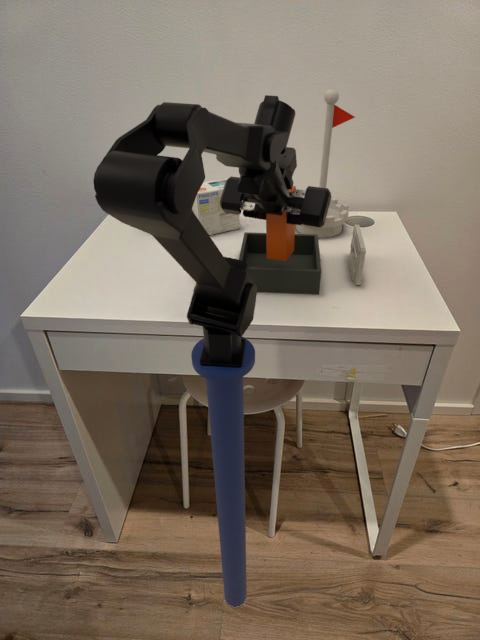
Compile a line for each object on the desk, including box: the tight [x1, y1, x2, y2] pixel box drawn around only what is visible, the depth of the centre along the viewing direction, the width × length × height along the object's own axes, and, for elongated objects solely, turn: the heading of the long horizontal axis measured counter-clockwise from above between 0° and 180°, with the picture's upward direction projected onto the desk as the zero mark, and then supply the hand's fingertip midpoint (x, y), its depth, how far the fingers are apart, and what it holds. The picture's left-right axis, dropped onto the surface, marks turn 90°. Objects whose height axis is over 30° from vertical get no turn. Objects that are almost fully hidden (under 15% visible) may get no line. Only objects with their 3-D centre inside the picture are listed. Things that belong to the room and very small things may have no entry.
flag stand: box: [295, 88, 356, 239], centre depth 96 cm, size 13×13×30 cm
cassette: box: [348, 223, 367, 286], centre depth 86 cm, size 12×2×8 cm, turn 174°
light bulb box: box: [192, 177, 241, 236], centre depth 103 cm, size 11×7×11 cm, turn 116°
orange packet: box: [265, 185, 297, 261], centre depth 82 cm, size 5×4×13 cm
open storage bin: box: [238, 231, 322, 295], centre depth 87 cm, size 15×15×5 cm
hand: (283, 220), depth 83 cm, fingers closed on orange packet, 4 cm apart
